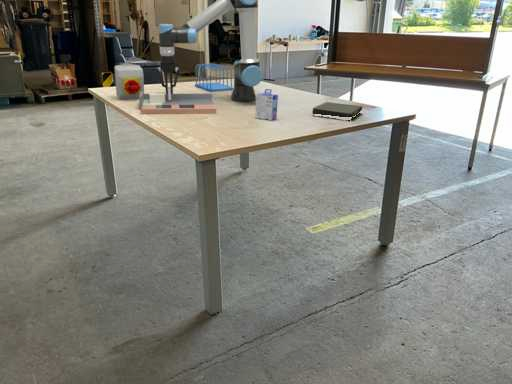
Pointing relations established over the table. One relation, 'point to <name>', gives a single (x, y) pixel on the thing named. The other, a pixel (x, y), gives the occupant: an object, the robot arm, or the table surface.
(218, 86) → the file sorter
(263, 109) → the ink cartridge box
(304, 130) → the table surface
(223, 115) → the table surface
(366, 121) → the table surface
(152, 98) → the block
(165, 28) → the robot arm
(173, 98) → the trap box
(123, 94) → the electrical switch box
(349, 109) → the network switch
